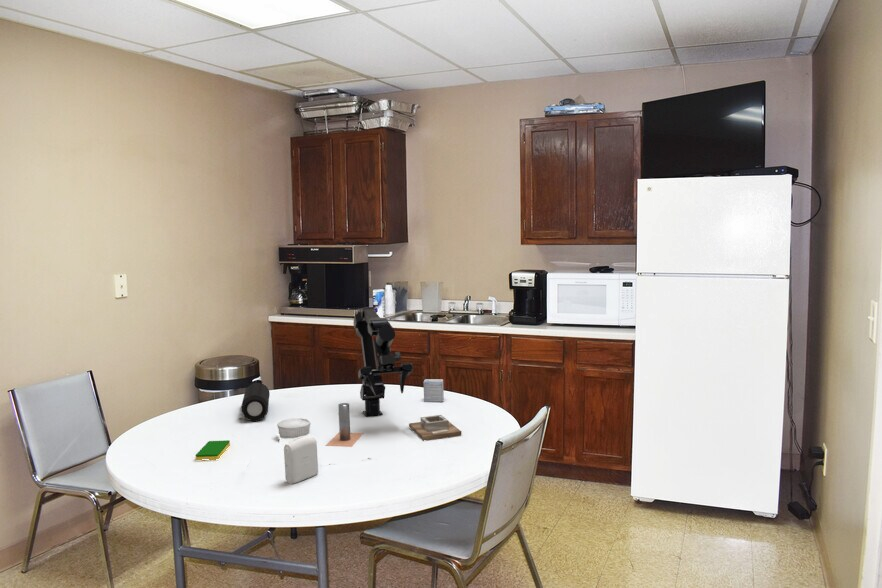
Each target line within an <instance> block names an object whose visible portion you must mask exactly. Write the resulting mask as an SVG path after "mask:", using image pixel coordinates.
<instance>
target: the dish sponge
mask: <svg viewBox="0 0 882 588" xmlns="http://www.w3.org/2000/svg"><path fill="white" fill-rule="evenodd" d="M230 442H231V441H230V440H209V441H207V442H206V443H205V445H204V446H203V447H202V448H200V449H199V451H198V452H197V453H196V454H195V461H196V460H202V459H209V460H216V459H219V458H220V456H221V455H222V454H223V453H224V452H225V451H226V452H227V450H228V449H229V448H230V447H231V443H230ZM229 446H230V447H229ZM228 447H229V448H228ZM227 448H228V449H227ZM226 449H227V450H226ZM226 452H225V453H226ZM225 453H224V454H225ZM224 454H223V455H224ZM223 455H222V456H223ZM222 456H221V457H222ZM220 459H221V458H220ZM220 459H219V460H220Z"/></svg>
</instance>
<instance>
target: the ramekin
mask: <svg viewBox="0 0 882 588" xmlns="http://www.w3.org/2000/svg"><path fill="white" fill-rule="evenodd" d="M311 423H312V422H311V420H309V419H307V418H301V417H300V418H299V417H298V418H297V417H295V418H294V417H293V418H288V419H283V420H280V421H279V422H277V425H276V427H277V429H278V432H279V433H278V434H279V436H280V438H282V437H283V438H297V437H300V436H305V435H309V432H310V428H311Z"/></svg>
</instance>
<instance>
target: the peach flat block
mask: <svg viewBox="0 0 882 588" xmlns="http://www.w3.org/2000/svg"><path fill="white" fill-rule="evenodd" d="M363 435H364V432H350V438H351V439H350V440H348V441H341V440H340V433H339V432H337V434H336V435H334V437H332V439H330V440H329V442H327V443H326V444H325V447H345V448H347V447H348V448H349V447H350V448H352V447H354V445H355V444H356V442H357V441H358V440H360V439H361V437H362V436H363Z"/></svg>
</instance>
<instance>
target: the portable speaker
mask: <svg viewBox="0 0 882 588" xmlns="http://www.w3.org/2000/svg"><path fill="white" fill-rule="evenodd" d="M269 403H270V390H269V388H268V387H267V386H266V385H265V384H264V383H260V382H254V383H251V384H250V385H248V387H246V389H245V391H244V395H243V398H242V402H241V408H240V409H241V413H242V415H243V417H244V418H246V419H247V420H249V421H252V422H256V420H257V421H260V420H262V419H264V418H265V417H266V415H267V414H268V412H269Z"/></svg>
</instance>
